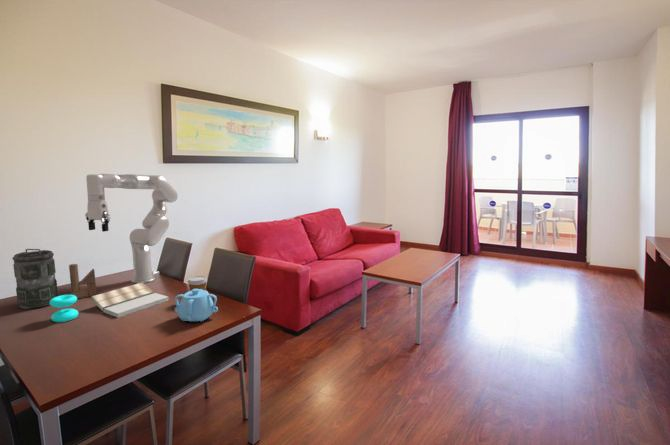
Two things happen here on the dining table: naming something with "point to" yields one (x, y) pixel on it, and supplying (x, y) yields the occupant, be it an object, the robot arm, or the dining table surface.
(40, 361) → the dining table surface
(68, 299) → the donuts
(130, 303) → the board
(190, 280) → the glass of beer
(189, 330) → the dining table surface
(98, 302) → the plank
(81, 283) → the wooden block
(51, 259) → the canister
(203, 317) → the decorative pot
